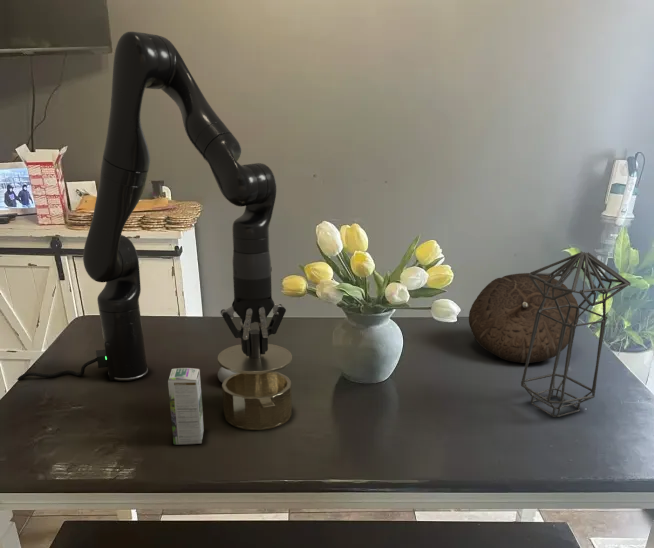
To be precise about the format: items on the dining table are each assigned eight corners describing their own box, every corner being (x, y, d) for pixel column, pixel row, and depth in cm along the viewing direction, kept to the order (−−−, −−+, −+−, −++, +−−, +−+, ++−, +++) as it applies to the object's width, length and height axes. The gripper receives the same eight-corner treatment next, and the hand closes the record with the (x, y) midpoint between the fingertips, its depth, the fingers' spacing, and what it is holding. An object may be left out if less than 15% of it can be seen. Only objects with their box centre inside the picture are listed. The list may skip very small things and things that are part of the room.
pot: (235, 440, 138) (233, 408, 135) (216, 400, 155) (214, 369, 151) (303, 430, 143) (303, 398, 139) (277, 391, 159) (277, 362, 156)
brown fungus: (467, 370, 174) (457, 273, 172) (480, 369, 195) (471, 283, 194) (583, 355, 163) (573, 252, 162) (583, 357, 185) (575, 266, 183)
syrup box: (176, 431, 141) (169, 367, 134) (205, 431, 142) (199, 367, 135) (173, 445, 136) (166, 379, 129) (203, 444, 137) (197, 378, 130)
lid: (226, 381, 134) (224, 349, 131) (211, 352, 147) (209, 322, 144) (301, 371, 139) (301, 341, 135) (280, 344, 151) (280, 316, 148)
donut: (212, 387, 161) (252, 390, 159) (211, 374, 159) (251, 377, 158) (226, 371, 170) (264, 374, 168) (225, 358, 168) (263, 361, 166)
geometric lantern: (550, 428, 145) (582, 265, 128) (504, 399, 157) (527, 247, 140) (605, 414, 151) (643, 257, 134) (556, 387, 163) (585, 240, 146)
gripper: (281, 265, 139) (282, 344, 147) (213, 269, 134) (218, 351, 143) (291, 275, 132) (291, 357, 141) (220, 280, 128) (225, 364, 137)
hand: (254, 353), depth 142 cm, fingers closed on lid, 2 cm apart
